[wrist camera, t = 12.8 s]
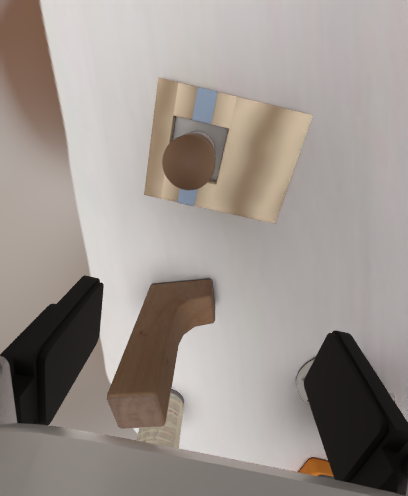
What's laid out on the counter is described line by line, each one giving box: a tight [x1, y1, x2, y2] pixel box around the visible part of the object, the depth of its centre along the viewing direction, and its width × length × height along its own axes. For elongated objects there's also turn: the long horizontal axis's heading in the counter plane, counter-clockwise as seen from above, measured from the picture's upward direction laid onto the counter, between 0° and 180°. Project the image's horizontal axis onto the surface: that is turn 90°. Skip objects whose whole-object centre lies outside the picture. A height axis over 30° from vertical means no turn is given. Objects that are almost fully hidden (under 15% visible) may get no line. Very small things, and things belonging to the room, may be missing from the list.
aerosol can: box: [136, 389, 184, 449], centre depth 41 cm, size 7×7×20 cm
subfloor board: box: [144, 78, 313, 223], centre depth 30 cm, size 16×12×2 cm
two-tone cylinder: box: [162, 131, 215, 190], centre depth 26 cm, size 4×4×12 cm
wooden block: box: [107, 279, 215, 428], centre depth 32 cm, size 9×4×18 cm, turn 98°
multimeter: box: [299, 458, 335, 480], centre depth 57 cm, size 9×18×3 cm, turn 74°
